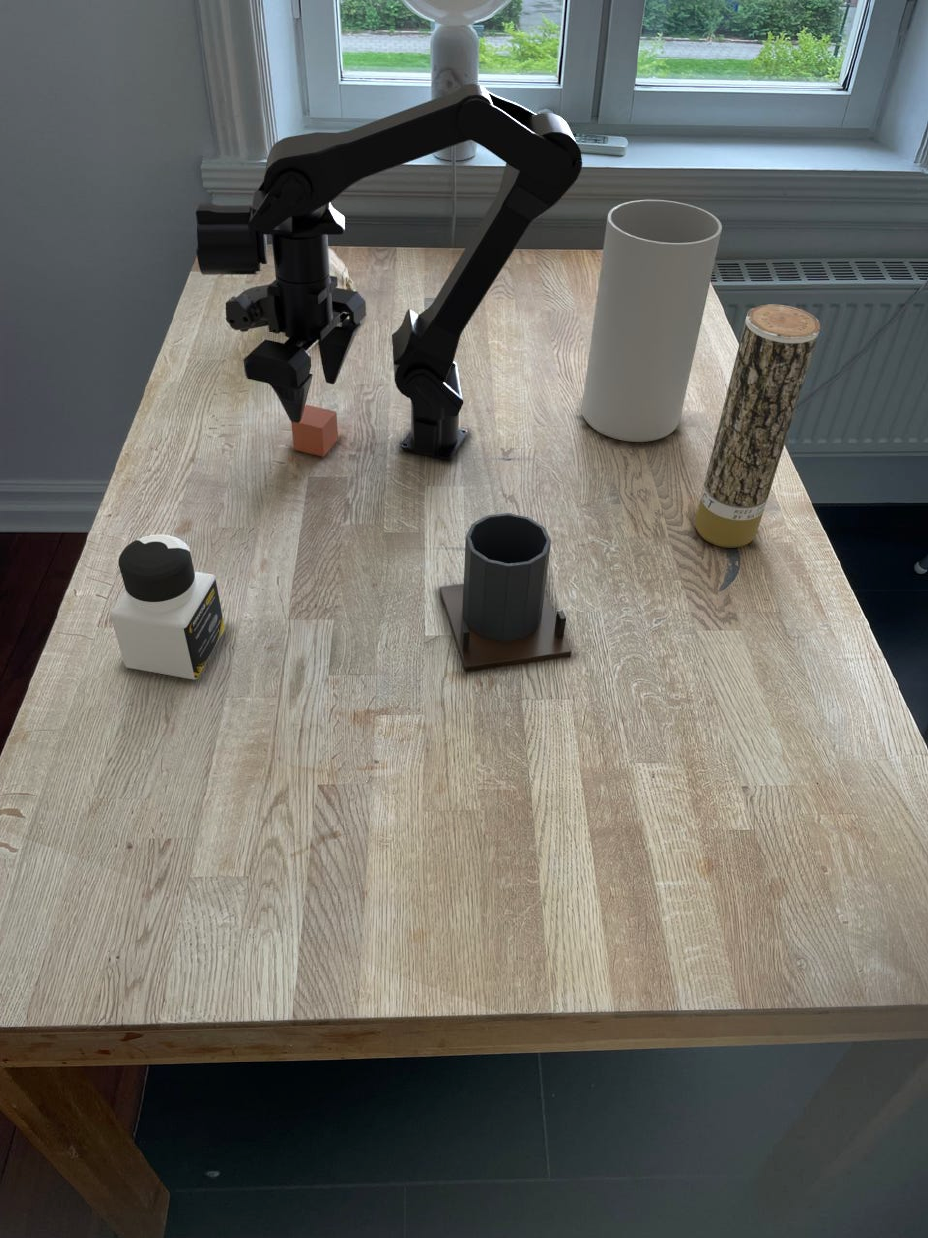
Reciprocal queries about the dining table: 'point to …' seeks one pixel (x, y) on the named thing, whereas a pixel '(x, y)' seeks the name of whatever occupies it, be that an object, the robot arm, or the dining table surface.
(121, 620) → the medicine bottle
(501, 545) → the bin
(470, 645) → the brown pegged stand
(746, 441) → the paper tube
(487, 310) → the dining table surface
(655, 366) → the cylinder vase
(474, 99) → the robot arm
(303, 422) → the block
